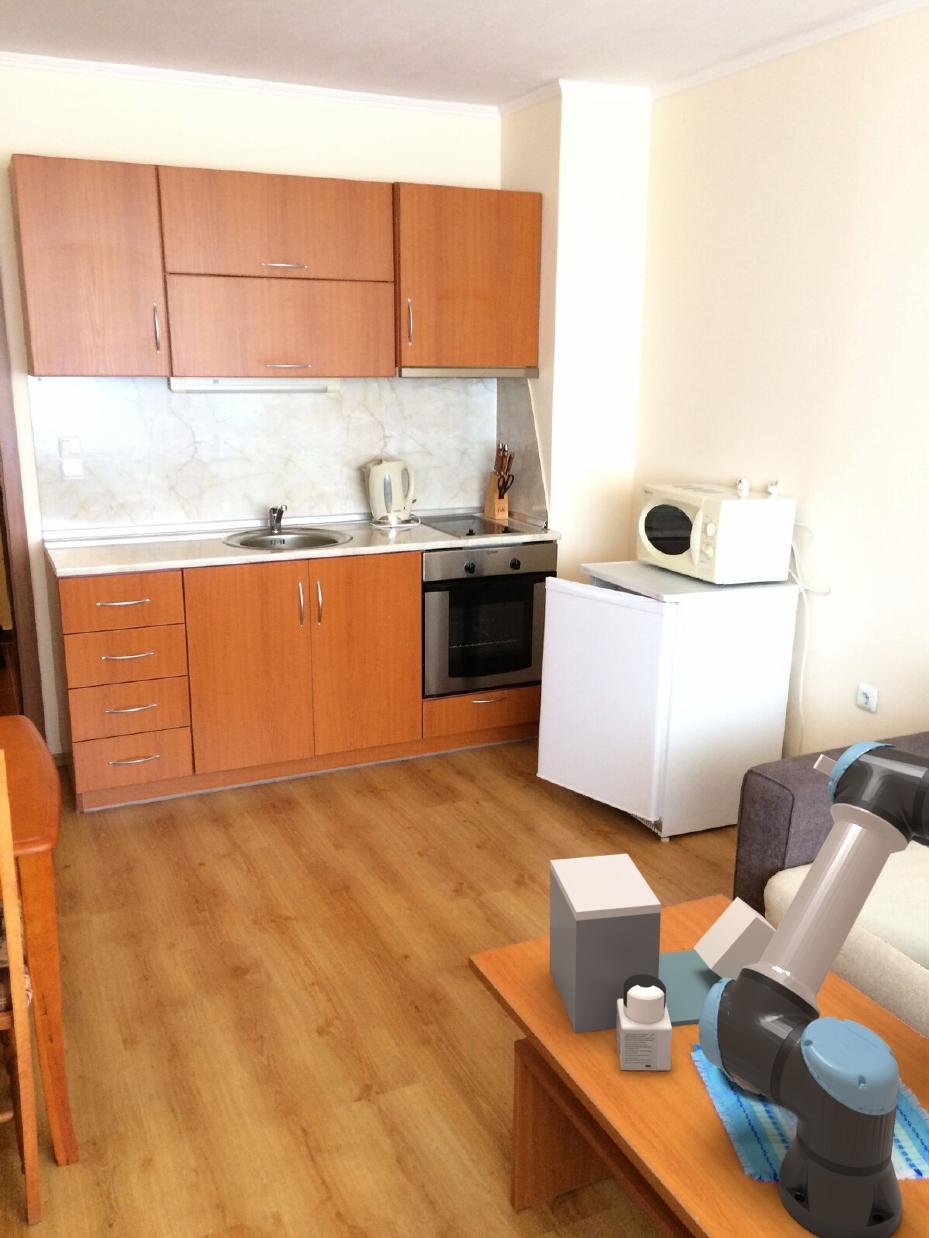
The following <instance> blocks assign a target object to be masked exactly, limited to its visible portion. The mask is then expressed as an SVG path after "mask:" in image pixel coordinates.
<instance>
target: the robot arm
mask: <svg viewBox="0 0 929 1238" xmlns="http://www.w3.org/2000/svg"><path fill="white" fill-rule="evenodd" d="M812 768H813V769H815V770H817V771H818V772H820V773H822V774H825V775H826V776H828V777H830V781H829V782H828V784H827V796H828V800H829V802H830V804H831V807H830V809H829V813H830V815H831V817H832V819H833V826H832V828H831V829H830V830H829V833H828V835H827V836H826V839H825V840H824V843H823V844H822V845H821V848H820V849H819V851H818V854H817V855H816V857H815V859H814V860H813V862H812V864H811V866H810V867H809V870H808V871H807V873H806V875H805V877H804V879H803V880H802V883H801V885H800V886H799V887H798V890H797V891H796V894H795V895H794V897H793V899H792V901H791V903H790V904H789V906H788V908H787V910H786V912H785V914H784V915H783V918H782V919H781V921H780V923H779V925H778V926H777V928H776V929H775V930H776V932H775V934H774V936H773V937H772V939H771V941H770V943H769V945H768V947H767V948H766V950H765V952H764V954H763V956H762V958H761V959H760V961H759V962H758V963H756V964H752V965H747V966H744V967H743V968H742V970H741V972H740V974H739V976H738V977H737V979H733V978H723V979H721V980H719V982H718V983H716V984H714V985H713V987H712V988H711V989H710V991H709V993H708V994H707V996H706V998H705V1001H704V1003H703V1006H702V1009H701V1013H700V1018H699V1023H698V1027H697V1028H698V1042H699V1046H700V1050H701V1052H702V1055H704V1058H705V1059H706V1060H707V1061H709V1063H711V1064H713V1065H714V1066H715V1067H717V1068H718V1069H720V1070H721V1071H723V1072H724V1074H725V1073H726V1074H727V1075H728V1076H729V1077H731V1078H736V1079H737V1080H739V1081H741V1082H742V1083H744V1084H746V1085H747V1086H749V1087H751V1088H752V1089H754V1090H756V1091H757V1092H759V1093H760V1094H762V1095H761V1096H764V1097H765V1098H767V1099H769V1100H770V1101H772V1102H774V1103H775V1104H777V1105H779V1106H780V1107H783V1108H784V1109H786V1110H787V1111H789V1112H790V1113H792V1114H794V1115H795V1116H796V1130H795V1136H793V1137H794V1138H793V1139H792V1141H791V1143H790V1146H789V1147H788V1148H787V1151H786V1153H785V1155H784V1156H783V1158H782V1161H781V1163H780V1166H779V1171H778V1172H779V1173H778V1186H777V1187H778V1188H777V1189H778V1192H779V1193H778V1194H779V1198H780V1200H781V1202H782V1204H783V1206H784V1207H785V1209H786V1210H787V1212H788V1213H789V1215H790V1216H792V1217H793V1219H794V1220H795V1221H796V1222H798V1223H799V1224H800V1226H803V1227H804V1228H805V1229H807V1231H810V1232H812V1233H813V1234H815V1235H817V1236H819V1237H821V1238H889V1237H891V1236H892V1235H893V1234H894V1233H895V1232H896V1230H897V1229H898V1228H899V1225H900V1222H901V1216H902V1205H903V1199H902V1192H901V1188H900V1184H899V1182H898V1177H897V1175H896V1170H895V1167H894V1164H893V1160H892V1153H893V1144H894V1135H895V1125H896V1116H897V1109H898V1107H897V1106H898V1101H899V1098H900V1085H899V1082H900V1081H899V1079H900V1078H899V1075H900V1074H899V1065H898V1061H897V1060H896V1058H895V1054H894V1052H893V1050H892V1049H891V1047H890V1046H889V1045H888V1043H887V1042H886V1041H885V1040H884V1039H883V1038H882V1037H881V1036H880V1035H878V1034H877V1033H876V1032H875V1031H873V1029H872V1030H871V1029H870V1028H869V1027H867V1026H865V1025H863V1024H861V1023H859V1022H857V1021H854V1020H851V1019H847V1018H844V1019H842V1020H840V1019H838V1017H836V1016H826V1017H824V1016H823V1017H821V1010H820V1007H819V1004H818V1001H817V996H818V994H819V992H820V991H821V988H822V986H823V984H824V983H825V981H826V978H827V977H828V974H829V973H830V971H831V969H832V968H833V966H834V964H835V961H836V959H837V957H838V956H839V954H840V952H841V950H842V948H843V946H844V944H845V942H846V940H847V938H848V937H849V935H850V932H851V931H852V928H853V927H854V925H855V923H856V920H858V917H859V915H860V913H861V911H862V909H863V907H864V906H865V904H866V901H867V900H868V898H869V896H870V894H871V892H872V890H873V888H874V886H875V884H876V882H877V881H878V878H879V876H881V875H880V874H881V873H882V871H883V869H884V867H885V865H886V863H887V862H888V860H889V857H890V855H891V854H895V853H900V852H903V851H905V850H906V849H907V848H908V846H909V844H910V843H911V840H912V841H914V842H915V843H916V844H917V843H918V844H919V845H921V846H923V847H926V848H928V849H929V756H928V755H925V754H921V753H918V752H916V751H915V752H914V751H911V750H908V749H905V748H900V747H898V746H897V745H894V744H890V743H881V742H876V741H871V740H865V741H860V742H856V743H855V744H853V745H851V746H850V747H848V748H847V750H845V751H844V752H843V753H842V755H841V756H840V757H839V758H838V760H837V761H836V760H834V759H832V758H830V757H828V756H826V755H825V754H822V753H821V754H820V755H819V757H818V759H817V760H816V762H815V763H814V765H813V767H812ZM727 1075H726V1076H727ZM728 1076H727V1077H728ZM760 1094H759V1095H760Z"/></svg>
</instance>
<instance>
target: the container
mask: <svg viewBox="0 0 929 1238" xmlns="http://www.w3.org/2000/svg"><path fill="white" fill-rule="evenodd" d="M615 1031H616V1032H615V1035H616V1036H615V1040H616V1045H617V1046H616V1047H617V1054H618V1058H619V1065H620V1069H621V1070H622V1071H666V1072H667V1071H670V1070H671V1069H672V1046H673V1045H672V1043H673V1041H672V1040H673V1039H672V1038H673V1026H671V1022H670V1018H669V1014H668V1010H667V1006H666V987H665V985H664V983H663V982H662V981H661V980H660V979H658V978H656V977H654V976H651V975H644V974H640V975H634V976H631V977H630V978H628V979H627V980H626V981H625V983H624V991H623V999H618V1000H617V1023H616V1029H615Z"/></svg>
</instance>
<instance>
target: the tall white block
mask: <svg viewBox="0 0 929 1238" xmlns="http://www.w3.org/2000/svg"><path fill="white" fill-rule="evenodd" d="M776 930H777V929H775V927H773V925H772V924H771V923H770V922H768V920H767V919H766V918H765V917H764V916H762V914H760V913H759V912H758V911H757V910H755V909H753V908H752V907H751V906H750V905H749V904H748V903H746V902H745V901H743V900H742V899H741V898H740V897H739V896H736V898H735V899H734V900H733V901H732V902H731V903H730V904H729V906H728V907H727V908H726V909H725V910H724V912H723V913H722V914H720V917H719V918H718V919H717V920H715V922H714V923H713V924H712V925H711V926H710V927H709V929H708V930H707V931H706V932H705V934H704V935H703V936H702V937H701V938H700V940H698V942H697V943H696V944H695V945H694V946H693V950H696V952H697V953H698V954H699V955H700V957H701V958H702V959H703V960H704V962H705V963H706V964H707V965H708V967H709V968H710V969H711V970H712V971H714V972H715V973H716V974H718V975H719V976H720V977H722V978H733V979H737V977H738V976H739V974H740V972H741V970H742V968H743V967H744V966H747V965H752V964H756V963H758V962H759V961H760V959H761V958H762V956H763V954H764V952H765V950H766V948H767V947H768V945H769V943H770V941H771V939H772V937H773V936H774V934H775V932H776Z"/></svg>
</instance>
